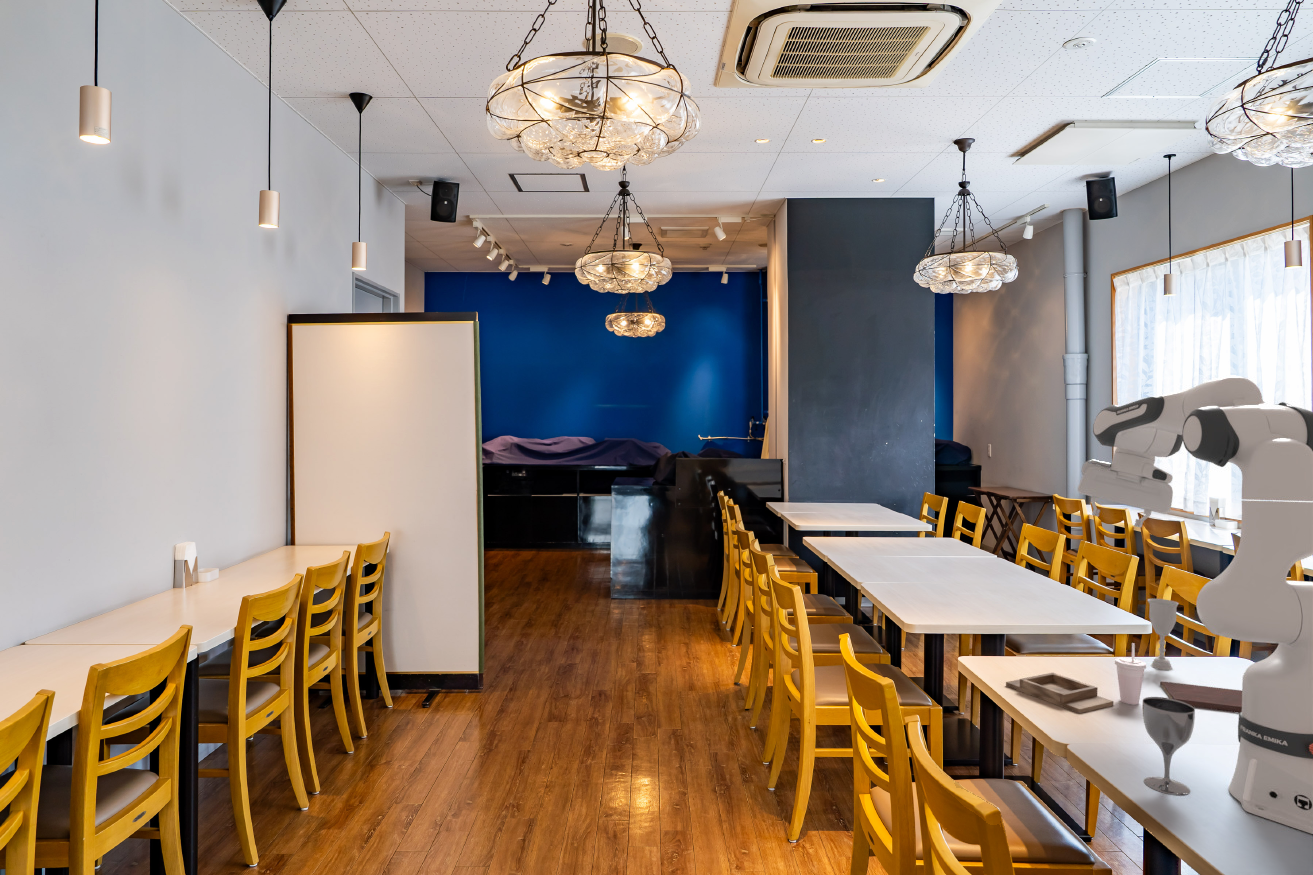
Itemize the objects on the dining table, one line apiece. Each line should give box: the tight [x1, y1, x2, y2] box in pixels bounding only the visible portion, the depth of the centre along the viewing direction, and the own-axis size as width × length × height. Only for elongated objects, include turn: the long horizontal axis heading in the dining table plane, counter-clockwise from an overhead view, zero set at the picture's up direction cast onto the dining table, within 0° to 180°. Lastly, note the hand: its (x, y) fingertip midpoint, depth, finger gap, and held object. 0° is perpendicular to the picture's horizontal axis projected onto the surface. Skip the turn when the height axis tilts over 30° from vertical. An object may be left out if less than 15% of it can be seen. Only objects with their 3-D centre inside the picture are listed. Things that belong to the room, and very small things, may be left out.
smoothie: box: [1114, 642, 1147, 705], centre depth 182 cm, size 6×6×14 cm
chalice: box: [1147, 598, 1180, 671], centre depth 208 cm, size 7×7×18 cm
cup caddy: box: [1005, 672, 1114, 714], centre depth 186 cm, size 20×12×3 cm, turn 25°
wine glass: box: [1141, 696, 1196, 796], centre depth 139 cm, size 8×8×15 cm
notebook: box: [1159, 680, 1242, 714], centre depth 183 cm, size 15×20×2 cm
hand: (1116, 521), depth 191 cm, fingers open, 8 cm apart
